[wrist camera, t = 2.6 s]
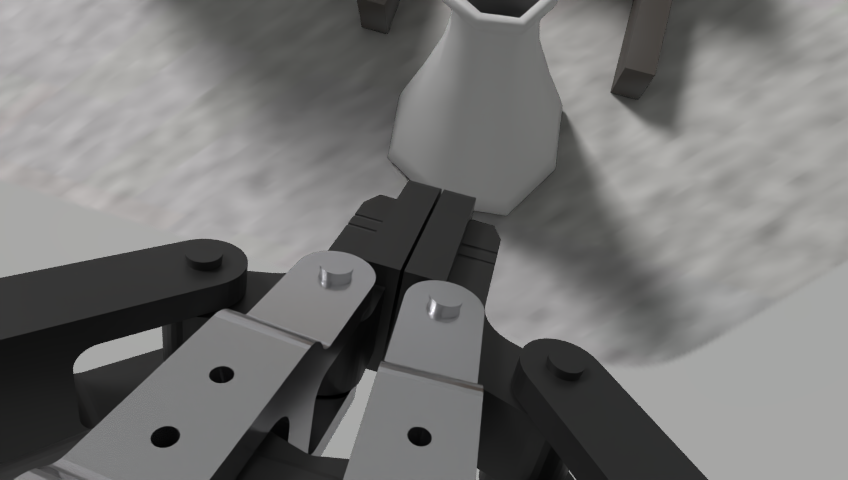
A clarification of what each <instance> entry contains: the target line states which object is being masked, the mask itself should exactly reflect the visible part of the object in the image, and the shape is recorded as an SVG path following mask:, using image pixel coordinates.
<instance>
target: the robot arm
mask: <svg viewBox="0 0 848 480" xmlns="http://www.w3.org/2000/svg"><path fill="white" fill-rule="evenodd" d="M441 193H442V194H441ZM475 203H476V198H475V197H471V196H467V195H464V194H460V193H456V192H452V191H449V190H445V189H444V190H443V192H442V189H441V188H437V187H434V186H430V185H426V184H422V183H419V182H415V181H411V180H409V181H408V182H407V184H406V186H405V187H404V189H403V190H402V192H401V194H400V195H399V197H398V198H397V199H394V198H390V197H387V196H383V195H379V196H376V197H374V198H372V199H370V200H367V201H365V202H364V203H363V204H362V205H361V207H360V208H359V209H358V211H357V212H356V213H355V216H353V217H352V219H351V220H350V221H349V223H348V225H347V226H346V227H345V228H344V230H343V231H342V232H341V234H340V235H339V236H338V238H337V239H336V240H335V242H334V243H333V245H332V246H331V247H330V249H329V250H328V251H320V252H315V253H312V254H309V255H307V256H305V257H303V258H302V259H301V260H299V261H298V262H297V263H296V264H295V265H294V266H293V267H292V268H291V269H290V270H289V271H288V273H265V272H253V271H247V266H248V260H247V257H246V255H245V254H244V252H243V251H242V250H241V249H239V248H238V247H236V246H234V245H232V244H230V243H227V242H224V241H219V240H213V239H194V240H188V241H183V242H178V243H173V244H168V245H163V246H158V247H153V248H148V249H143V250H138V251H133V252H129V253H123V254H118V255H113V256H108V257H103V258H98V259H93V260H88V261H84V262H78V263H73V264H68V265H63V266H58V267H53V268H48V269H43V270H38V271H33V272H28V273H23V274H18V275H13V276H8V277H3V278H0V480H476V469H477V468H478V469H479V470H480V471H479V480H574V478H573V477H572V475H571V474H570V473H569V470H570V472H571V473H572V474H573V475H574V477H575V478H576V480H708V479H707V478H706V477H705V476H704V475H703V474H702V472H701V471H699V470H698V468H697V467H696V466H695V465H694V464H693V463H692V462H691V461H690V460H689V459H688V458H687V456H686V455H685V454H684V453H683V452H682V451H681V450H680V449H679V448H678V447H677V446H676V445H675V443H674V442H673V441H672V440H671V439H670V438H669V437H668V436H667V435H666V434H665V433H664V432H663V431H662V430H661V428H660V427H659V426H658V425H657V424H656V423H655V422H654V421H653V420H652V419H651V418H650V417H649V416H648V415H647V413H646V412H645V411H644V410H643V409H642V408H641V407H640V406H639V405H638V404H637V403H636V402H635V400H634V399H633V398H632V397H631V396H630V395H629V394H628V393H627V392H626V391H625V390H624V389H623V388H622V387H621V385H620V384H619V383H618V382H617V381H616V380H615V379H614V378H613V377H612V376H611V375H610V374H609V373H608V372H607V370H606V369H605V368H604V367H603V366H602V365H601V364H600V363H599V362H598V361H597V360H596V359H595V358H594V357H593V356H592V355H591V354H589V353H588V352H587V351H585V350H583V349H582V348H580V347H578V346H576V345H574V344H571V343H568V342H566V341H562V340H557V339H538V340H534V341H531V342H529V343H528V344H527V345H525V346H524V348H521V347H519V346H517V345H515V344H514V343H512V342H510V341H508V340H507V339H505V338H504V337H503V336H501V335H500V334H499V333H498V332H497V331H495V330H494V328H493V327H492V326H491V325H490V323H489V322H488V320H487V318H486V315H485V304H486V300H487V296H488V291H489V287H490V283H491V279H492V275H493V270H494V266H495V262H496V258H497V254H498V249H499V245H500V241H501V239H500V237H499V235H498V233H497V231H496V229H495V227H494V226H493V225H489V224H486V223H482V222H478V221H475V220H471V219H472V215H473V211H474V207H475ZM161 326H162V333H163V334H162V335H163V348H162V349H159V350H155V351H152V352H149V353H145V354H142V355H139V356H135V357H132V358H129V359H125V360H122V361H119V362H116V363H112V364H109V365H105V366H102V367H99V368H96V369H92V370H89V371H86V372H82V373H76V374H73V365H74V363H75V361H76V359H77V358H78V356H79V355H80V354H81V353H83V352H84V351H85V350H86V349H88V348H90V347H92V346H94V345H97V344H100V343H103V342H107V341H111V340H114V339H118V338H122V337H125V336H129V335H133V334H136V333H140V332H143V331H147V330H150V329H154V328H158V327H161ZM365 369H369V370H373V371H376V372H377V374H376V377H375V380H374V384H373V387H372V390H371V393H370V396H369V400H368V403H367V406H366V409H365V412H364V415H363V418H362V421H361V425H360V428H359V431H358V434H357V437H356V440H355V444H354V447H353V450H352V453H351V456H350V459H341V458H330V457H321V455H322V453H323V451H324V450H325V448H326V446H327V445H328V443H329V441H330V439H331V438H332V436H333V434H334V433H335V431H336V429H337V428H338V426H339V424H340V422H341V421H342V418H343V417H344V415H345V414H346V412H347V410H348V409H349V407H350V405H351V403H352V402H353V400H354V397H355V392H356V386H357V384H358V383H359V381H360V380H361V378H362V376H363V373H364V371H365Z"/></svg>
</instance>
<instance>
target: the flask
mask: <svg viewBox="0 0 848 480" xmlns="http://www.w3.org/2000/svg"><path fill="white" fill-rule="evenodd" d="M443 2H444V3H445V4H446V5H448V6H449V7H450V8H451V16H450V19H449V22H448V24H447V27H446V30H445V33H444V35H443V36H442V38H441V39H440V41H439V42H438V44H437V45H436V47H435V48H434V50H433V51H432V53H431V54H430V56H429V57H428V58H427V60H426V61H425V63H424V64H423V66H422V67H421V68H420V69H419V71H418V72H417V73H416V74H415V76H414V77H413V78H412V79H411V81H410V82H409V83H408V84H407V86H406V87H405V88H404V90H403V91H402V93H401V94H400V96H399V101H398V106H397V111H396V116H395V122H394V127H393V132H392V138H391V143H390V148H389V153H388V158H389V159H390V160H391V161H392V162H393V163H394V164H395V165H396V166H397V167H398V168H399V169H400V170H401V171H402V172H403V173H404V174H405V175H406V176H407V177H408V178H409V179H410V180H411V181H415V182H419V183H422V184H426V185H430V186H434V187H437V188H441V189H442V192H443V190H444V189H445V190H449V191H452V192H456V193H460V194H464V195H467V196H471V197H475V198H476V203H475V207H474V211H479V212H486V213H493V214H499V215H506V216H507V215H508V214H509V213H510V212H511V211H512V210H513V209H514V208H515V207H516V206H517V205H518V204H519V203H520V202H521V201H523V200H524V199H525V198H526V197H527V196H528V195H529V194H530V193H531V192H532V191H533V190H534V189H535V188H536V187H537V186H538V185H539V184H540V183H541V182H542V181H543V180H545V179H546V178H547V177H548V176H549V175H550V174H551V173H552V172H553V171H554V170H555V168H556V160H557V151H558V142H559V133H560V124H561V115H562V103H561V100H560V97H559V94H558V92H557V90H556V87H555V85H554V82H553V80H552V77H551V75H550V72H549V69H548V66H547V63H546V59H545V56H544V53H543V50H542V46H541V43H540V40H539V23H540V19H541V18H543V17H544V16H545V15H546V14H547V13H548V12H549V11H550V10H552V9H553V8H554V6H555V5H556V4H557V0H443ZM441 194H442V193H441Z"/></svg>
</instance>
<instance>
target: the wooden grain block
mask: <svg viewBox="0 0 848 480" xmlns="http://www.w3.org/2000/svg"><path fill="white" fill-rule="evenodd" d="M399 1H400V0H357V3H358V8H359V14H360V20H361V25H362V27H364V28H368V29H372V30H375V31H379V32H383V33H387V34H388V31H389V29H390V26H391V23H392V20H393V18H394V15H395V12H396V9H397V6H398V4H399ZM671 4H672V0H633V4H632V8H631V12H630V16H629V20H628V24H627V28H626V32H625V36H624V40H623V44H622V48H621V52H620V56H619V60H618V65H617V69H616V73H615V77H614V81H613V85H612V89H611V93H615V94H619V95H622V96H626V97H630V98H634V99H639V98H640V96H641V95H642V94H643V92H644V91H645V89H646V88H647V86H648V85H649V83H650V82H651V80H652V79H653V78H654V76H655V73H656V69H657V64H658V60H659V56H660V51H661V47H662V43H663V38H664V34H665V30H666V25H667V21H668V17H669V12H670V8H671Z"/></svg>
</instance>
